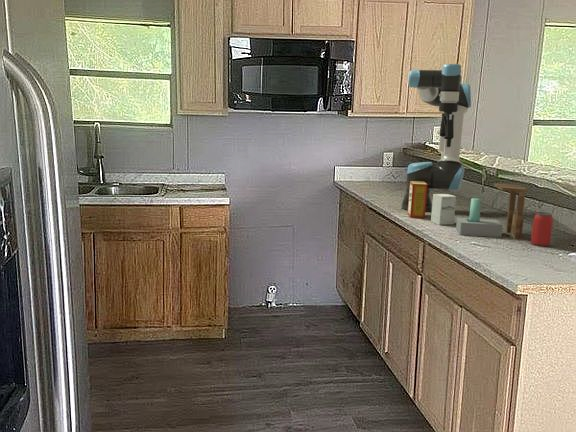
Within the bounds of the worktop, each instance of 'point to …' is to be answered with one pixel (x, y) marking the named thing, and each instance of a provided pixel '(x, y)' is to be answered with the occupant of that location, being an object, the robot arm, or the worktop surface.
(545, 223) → the beer can
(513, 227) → the wooden t-shaped stand
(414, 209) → the baking soda box
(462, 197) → the worktop surface
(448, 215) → the supplement box
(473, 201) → the peg
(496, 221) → the socket
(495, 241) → the worktop surface
